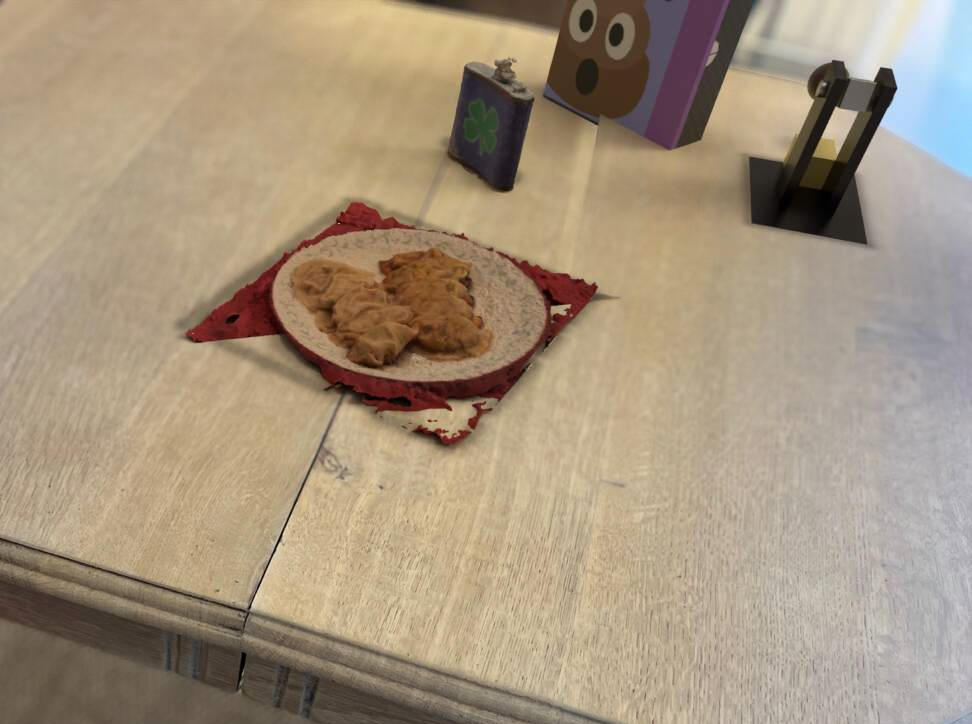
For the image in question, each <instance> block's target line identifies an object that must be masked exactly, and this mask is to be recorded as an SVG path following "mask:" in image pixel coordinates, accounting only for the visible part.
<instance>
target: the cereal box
mask: <svg viewBox="0 0 972 724" xmlns="http://www.w3.org/2000/svg"><path fill="white" fill-rule="evenodd" d="M754 3H755V0H567V1H566V5H565V9H564V13H563V17H562V20H561V25H560V29H559V31H558V36H557V39H556V43H555V48H554V51H553V54H552V59H551V63H550V66H549V70H548V73H547V74H548V75H547V79H546V82H545V86H544V89H543V92H542V97H544V98H546V99H547V100H549V101H551V102H553V103H555V104H557V105H558V106H561V108H562V107H563V108H565V110H568V111H570V112H572V113H574V114H575V115H578V116H580V117H581V118H583V119H585V120H587V121H589V122H590V123H593V124H595V125H596V126H599V125H600V124H599V123H600V118H601V116H603V117H605V118H607V119H608V120H611V121H612V122H614V123H616V124H618V125H620V126H622V127H624V128H626V129H628V130H630V131H632V132H634V133H635V134H638V135H639V136H641V137H643V138H645V139H647V140H649V141H651V142H653V143H655V144H657V145H659V146H661V147H663V148H664V149H666V150H668V151H673V150H676V149H679V148H682V147H685V146H687V145H690V144H693V143H696V142H699V141H702V138H703V137H704V136H703V135H704V133H705V131H706V128H707V126H708V124H709V123H708V122H709V120H710V118H711V114H712V113H713V109H714V107H715V106H716V105H715V104H716V102H717V99H718V97H719V94H720V91H721V89H722V87H723V83H724V82H725V79H726V76H727V73H728V70H729V68H730V65H731V64H732V63H731V62H732V60H733V58H734V55H735V52H736V50H737V47H738V45H739V43H740V39H741V37H742V35H743V31H744V28H745V26H746V24H747V21H748V18H749V16H750V13H751V10H752V9H753V5H754Z"/></svg>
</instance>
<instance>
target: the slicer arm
mask: <svg viewBox="0 0 972 724" xmlns="http://www.w3.org/2000/svg"><path fill="white" fill-rule="evenodd" d="M830 64H831V62H826V63H823V64H821V65H820V66H818V67H817V68H815V69H814V70H813V72H812V73H811V74H810V76H809V77H808V79H807V83H806V84H807V85H806V89H807V93H808V95H809V97H810V98H811V99H812V100H813V101H814V100H815V97H816V96H815V95H816V91H817V88H818V85H819V83H820V82H821V81H822V80H824V77H825V75H826V73H827V71H828V69H829V66H830ZM845 69H846V74H847V79H848V81H847V84H846V86H845V88H844V90H843V92H842V94H841V96H840V99H839V101H838V103H837V105H836V107H835V108H838V109H841V110H847V111H853V112H866V109H867V107H868V105H869V102H870V100H871V97H872V95H873V92H874V90H875V88H876V85H877V83H876V82H873V81H874V80H871V79H863V78H858V77H851V76H850V72H849V70H848V69H847V67H845Z"/></svg>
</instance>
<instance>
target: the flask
mask: <svg viewBox="0 0 972 724" xmlns="http://www.w3.org/2000/svg"><path fill="white" fill-rule="evenodd" d="M517 62H518V60H517V59H516V58H513V57H512V58H511V57H508V58H507V59H506V58H503V59H500V60H499V59H495V60H494V61H493V63H494V64H493V65H494V66H495V67H496V68H495V67H492V66H490V65H488V64H486V63H483V62H478V61H471V62H468V63H466V64H465V65H464V66H463V70H462V71H463V72H462V77H461V79H462V80H461V84H460V89H459V94H458V99H457V105H456V108H455V114H454V119H453V124H452V128H451V132H450V137H449V140H448V145H447V149H446V154H447V156H448V157H449V159H450V160H451V161H452V162H453V163H458V165H460V166H461V167H462V168H463V169H464V170H465V171H466V172H468V173H469V174H472V175H476V176H477V179H479V180H482V181H483V182H484V184H485V185H487V186H488V187H489V188H491V190H493V191H498V192H501V193H504V194H505V193H508V192H511V191H513V190H514V187H515V182H516V177H517V174H518V168H519V165H520V161H521V157H522V153H523V148H524V143H525V140H526V135H527V131H528V126H529V123H530V119H531V114H532V111H533V107H534V103H535V94H534V93H533V91H531V90H530V89H528V88H527V85H526V84H525V83H523V82H522V81H518V79H517V77H518V76H517V73H516V71H514V70H512V69H511V67H512V66H513V63H515V64H516V63H517ZM516 79H517V80H516Z"/></svg>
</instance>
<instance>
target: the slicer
mask: <svg viewBox="0 0 972 724" xmlns="http://www.w3.org/2000/svg"><path fill="white" fill-rule="evenodd" d="M830 63H831V64H830V66H829V69H828V71H827V73H826V75H825V77H824V80H822V81H821V82H820V83H819V85H818V88H817V91H816V95H815V96H816V97H815V100H813V102H812V105H810V109H809V111H808V113H807V116H806V117H805V120H804V122H803V125H802V127H801V129H800V131H799V133H798V134H799V135H798V137H797V140H796V142H795V144H794V146H793V149H792V151H791V153H790V155H789V157H788V160H787V162H786V164H785V166H784V168H783V162H784V161H779V160H772V159H767V158H761V157H755V156H748V162H749V190H750V192H749V193H750V217H751V219H750V220H751V224H753V225H758V226H764V227H768V228H769V227H770V228H775V229H781V230H784V231H785V230H786V231H790V232H797V233H802V234H807V235H811V236H812V235H813V236H818V237H823V238H828V239H835V240H839V241H840V240H841V241H844V242H845V241H846V242H851V243H855V244H862V245H867V246H868V239H867V234H866V229H865V224H864V217H863V214H862V213H863V212H862V207H861V201H860V196H859V190H858V184H857V179H856V175H855V174H856V172H857V170H858V169H859V166H860V164H861V163H862V161H863V158H864V156H865V154H866V152H867V150H868V148H869V146H870V144H871V142H872V141H873V138H874V136H875V134H876V133H877V130H878V128H879V127H880V124H881V122H882V120H883V118H884V116H885V115H886V112H887V111H888V109H889V108H890V106H891V105H892V103H893V101H894V98H895V95H896V93H897V91H898V84H897V81H896V77H895V74H894V69H893V68H889V67H883V66H880V67H879V68H878V71H877V73H876V75H875V77H874V79H873V80H872V81H873V82H876V83H877V85H876V88H875V90H874V92H873V95H872V97H871V100H870V102H869V105H868V107H867V109H866V112H859V111H857V115H856V116H855V119H854V120H853V122H852V125H851V127H850V129H849V131H848V133H847V135H846V136H845V139H844V141H843V143H842V145H841V147H840V149H839V151H838V152H837V158H836V160H835V162H834V164H833V166H832V168H831V170H830V172H829V174H828V176H827V178H826V180H825V182H824V184H823V186H822V188H821V190H818V189H813V188H807V187H801V186H799V184H800V182H801V180H802V178H803V176H804V174H805V171H806V169H807V167H808V165H809V163H810V161H811V159H812V156H813V154H814V152H815V150H816V148H817V146H818V144H819V141H820V139H821V138H823V135H824V133H825V131H826V129H827V126H828V124H829V122H830V120H831V118H832V115H833V114H834V111H835V109H836V108H837V107H836V105H837V103H838V101H839V99H840V96H841V94H842V92H843V90H844V88H845V86H846V84H847V81H848V79H847V74H846V69H847V68H846V64H845V61H844V60H839V59H837V60H836V59H832V60H831V62H830ZM845 68H846V69H845Z"/></svg>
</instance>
